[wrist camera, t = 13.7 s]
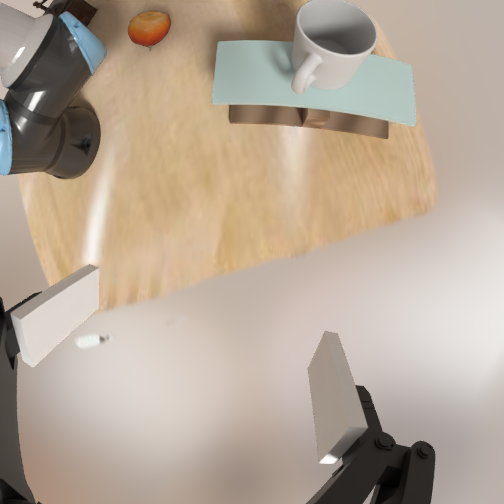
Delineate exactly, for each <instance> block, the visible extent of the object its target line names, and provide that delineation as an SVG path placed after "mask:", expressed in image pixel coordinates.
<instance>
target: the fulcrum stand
mask: <svg viewBox="0 0 504 504" xmlns="http://www.w3.org/2000/svg"><path fill="white" fill-rule="evenodd" d="M230 123H239V124H270V125H286V126H299V127H309V128H319V129H327V130H335V131H342V132H349V133H355V134H361V135H367V136H373V137H378V138H383V139H388V121H386V120H381V119H377V118H372V117H366V116H361V115H355V114H349V113H343V112H336V111H329V110H320V109H312V108H301V107H289V106H273V105H231V108H230Z"/></svg>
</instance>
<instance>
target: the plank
mask: <svg viewBox="0 0 504 504" xmlns="http://www.w3.org/2000/svg"><path fill="white" fill-rule="evenodd" d="M292 50H293V42H288V41H266V40H240V41H218V46H217V55H216V64H215V74H214V85H213V96H212V103H213V104H214V105H273V106H289V107H301V108H312V109H320V110H329V111H336V112H343V113H349V114H355V115H361V116H366V117H372V118H377V119H381V120H386V121H391V122H395V123H399V124H403V125H407V126H411V127H414V126H416V107H415V93H414V81H413V72H412V65H410V64H406V63H403V62H400V61H397V60H393V59H390V58H386V57H382V56H378V55H374V54H370V55H369V56H368V57H367V59H366V60H365V61H364V63H363V64H362V65H361V67H360V68H359V69H358V71H357V72H356V74H355V75H354V77H353V78H352V80H351V81H350V82H349V83H348V84H347V85H345V86H344V87H342V88H340V89H336V90H328V91H327V90H319V89H316V88H313V87H311V86H309V87H308V88H307V90H306V91H305V92H304V93H303V94H297V93H295V92H294V91H293V90H292V88H291V83H292V79H293V76H294V74H295V71H294V69H293V67H292V61H291V57H292Z"/></svg>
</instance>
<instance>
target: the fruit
mask: <svg viewBox="0 0 504 504" xmlns="http://www.w3.org/2000/svg"><path fill="white" fill-rule="evenodd" d="M170 24H171V21H170V18H169V15H168V14H165V13H162V12H158V11H149V12H144V13H141V14H139V15H137V16H136V17H134V18H133V19H132V20H131V21H130V25H129V27H128V34H129V36H130V38H131V40H132V41H133V42H134V43H136V44H140V45H143V46H146V47H149V48H150V51H151V46H152V45H155V44H157V43H158V42H160V41H161V40H162V39H163V38H164V37H165V35H166V34H167V33H168V31H169V28H170Z"/></svg>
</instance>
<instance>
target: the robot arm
mask: <svg viewBox="0 0 504 504" xmlns="http://www.w3.org/2000/svg"><path fill="white" fill-rule="evenodd" d="M106 54H107V49H106V47H105V45H104V44H103V43H102V42H101V41H100V40H99V39H98V38H97V37H96V36H95V35H94V34H93V33H92V32H91V31H90V30H89V29H88V28H87V27H85V26H84V25H83V24H82V23H81V22H80V21H79V20H77V18H75V17H74V16H73V15H72V14H71V13H69V12H67V11H66V12H64V13H63V14H60V15H59V18H57V17H55V16H54V15H52V14H47V15H44V16H41V17H38V18H33V17H31V16H29V15H27V14H25V13H23V12H21V11H19V10H16V9H14V8H12V7H10V6H7V5H5V4H3V3H0V76H1V79H2V84H3V86H4V87H5V88H8V89H9V91H8V92H7V94H6V96H5V98H4V100H2V99H0V175H3V176H5V175H10V174H19V173H30V172H46V173H48V174H50V175H53V176H55V177H57V178H59V179H74V178H77V177H79V176H81V175H82V174H83V173H85V172H86V171H87V169H88V168H89V167H90V166H91V164H92V162H93V161H94V159H95V157H96V154H97V151H98V148H99V143H100V125H99V122H98V119H97V117H96V115H95V114H94V113H93V112H92V111H91V110H89V109H86V108H83V107H78V106H74V107H69V108H68V106H69V105H70V103H71V102H72V101H73V99H74V98H75V96H76V95H77V94H78V92H79V91H80V89H81V88H82V87H83V85H84V84H85V83H86V82H87V80H88V79H89V78H90V76H93V74H94V71H95V70H96V69H97V67H98V66H99V65H100V64H101V62H102V61H103V60H104V58H105V57H106ZM98 308H99V267H96V266H93V265H90V264H89V265H87V266H85V267H83V268H82V269H80V270H78V271H77V272H75V273H73V274H71V275H70V276H68V277H66V278H65V279H63V280H61V281H60V282H58V283H56V284H55V285H53V286H51V287H50V288H48V289H47V290H45V291H43V292H42V291H41V292H38V293H34V294H32V295H31V296H29V297H28V298H27V299H24V300H23V301H22V302H20V303H18V304H17V305H15V306H14V307H12V308H11V309H9V310H8V311H6V312H5V310H4V306H3V301H2V298H1V297H0V504H36V503H35V499H34V496H33V494H32V492H31V490H30V488H29V486H28V484H27V482H26V480H25V475H24V470H23V464H22V458H21V452H20V444H19V435H18V422H17V398H16V396H17V395H16V394H17V389H16V388H17V364H18V359H17V354H18V353H19V352H21V355H22V359H23V361H24V362H26V363H27V364H28V365H30V366H31V367H34V366H36V365H37V364H38V363H39V362H40V361H41V360H42V359H43V358H44V357H45V356H46V355H47V354H48V353H49V352H50V351H51V350H52V349H54V348H55V347H56V346H57V345H58V344H59V343H60V342H61V341H62V340H63V339H64V338H66V337H67V336H68V335H69V334H70V333H71V332H72V331H73V330H74V329H76V328H77V327H78V326H79V325H80V324H81V323H82V322H83V321H85V320H86V319H87V318H88V317H89V316H90V315H92V314H93V313H94V312H95V311H96V310H97V309H98ZM308 374H309V382H310V390H311V398H312V406H313V414H314V423H315V432H316V441H317V450H318V461H319V463H332V464H333V463H334V464H335V463H336V462H337V461H338V460H339V459H340V458H341V457H342V461H343V464H342V465H341V466H340V467H339V468H338V469H337V470H336V471H335V472H334V473H333V474H332V475H333V476H332V477H331V478H330V479H329V480H328V481H327V482H326V484H324V486H323V487H322V488H321V489H320V490H319V491H318V492H317V493H316V494H315V495H314V496H313V497H312V498H311V499H310V500H309V501H308V502H307V503H306V504H363V502H364V501H365V500H366V498H367V497H368V495H369V494H370V492H371V491H372V489H373V488H374V486H375V485H376V486H375V489H374V493H373V496H372V498H371V502H370V504H430V503H431V496H432V489H433V479H434V469H435V451H434V449H433V447H432V446H431V445H430V444H428V443H427V442H424V441H418V442H416V443H415V444H413V445H412V446H411V447H406V446H401V445H397V444H396V442H395V440H394V439H393V437H391V436H390V435H389V434H387V433H384V432H383V431H382V428H381V425H380V422H379V419H378V416H377V413H376V410H375V407H374V404H373V403H372V399H371V396H370V394H369V392H368V391H367V390H366V389H365V387H364V386H357V385H355V383H354V380H353V377H352V374H351V371H350V368H349V365H348V362H347V359H346V356H345V353H344V350H343V347H342V344H341V342H340V339H339V336H338V334H337V333H332V332H328V331H325V332H324V334H323V337H322V339H321V341H320V343H319V345H318V348H317V350H316V352H315V354H314V356H313V358H312V361H311V363H310V365H309V367H308ZM37 504H41V503H40V502H38V503H37Z"/></svg>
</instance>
